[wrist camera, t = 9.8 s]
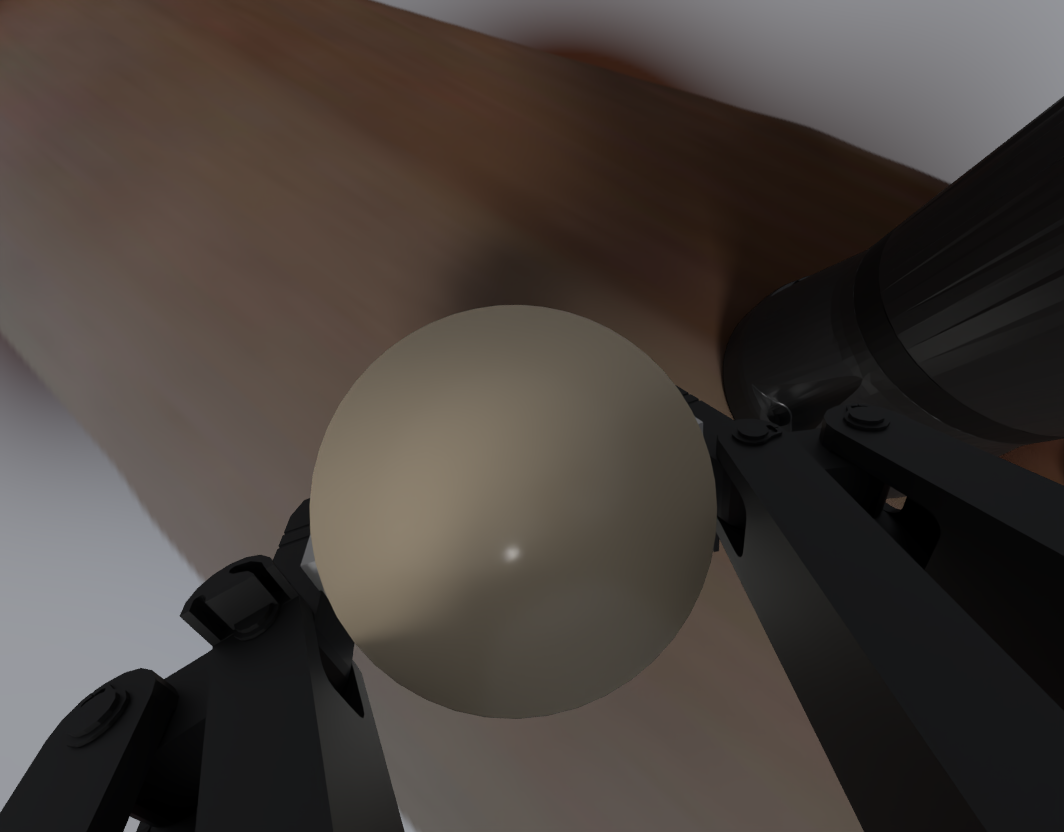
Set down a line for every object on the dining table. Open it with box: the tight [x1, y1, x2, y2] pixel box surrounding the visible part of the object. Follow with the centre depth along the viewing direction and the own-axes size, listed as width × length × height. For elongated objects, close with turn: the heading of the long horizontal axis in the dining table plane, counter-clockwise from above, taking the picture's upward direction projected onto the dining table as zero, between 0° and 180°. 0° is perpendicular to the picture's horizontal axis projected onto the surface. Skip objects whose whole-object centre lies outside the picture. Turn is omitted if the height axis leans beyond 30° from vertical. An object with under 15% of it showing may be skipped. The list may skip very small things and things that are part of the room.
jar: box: [310, 305, 717, 719], centre depth 11 cm, size 6×6×10 cm
